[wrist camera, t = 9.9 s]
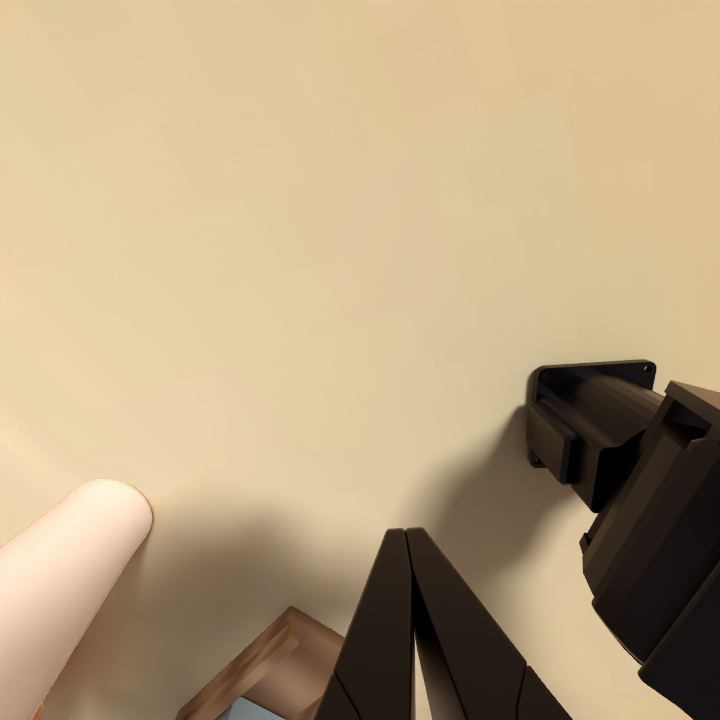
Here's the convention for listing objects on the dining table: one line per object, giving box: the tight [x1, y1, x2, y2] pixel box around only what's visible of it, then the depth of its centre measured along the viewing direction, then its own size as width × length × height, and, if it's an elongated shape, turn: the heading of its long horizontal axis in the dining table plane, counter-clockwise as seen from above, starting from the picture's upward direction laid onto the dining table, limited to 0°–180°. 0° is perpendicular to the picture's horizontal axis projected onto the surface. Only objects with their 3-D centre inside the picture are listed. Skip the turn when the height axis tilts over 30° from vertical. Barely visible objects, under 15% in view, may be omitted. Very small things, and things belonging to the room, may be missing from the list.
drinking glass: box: [0, 479, 152, 720], centre depth 17 cm, size 7×7×15 cm
